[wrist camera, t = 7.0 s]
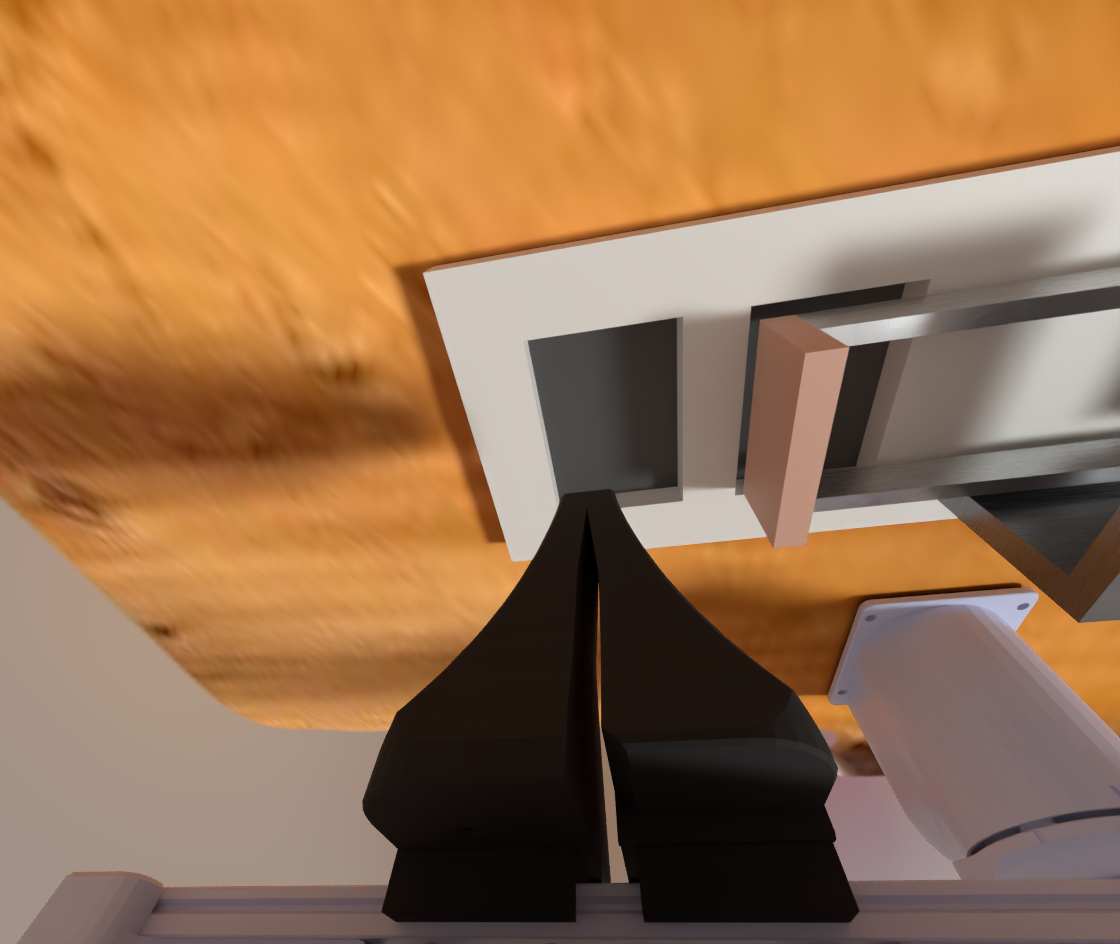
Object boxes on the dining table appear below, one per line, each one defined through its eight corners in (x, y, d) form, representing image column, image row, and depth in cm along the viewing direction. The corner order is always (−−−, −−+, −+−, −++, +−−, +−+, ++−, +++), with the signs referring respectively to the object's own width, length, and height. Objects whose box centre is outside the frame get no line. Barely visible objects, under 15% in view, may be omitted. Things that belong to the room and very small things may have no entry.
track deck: (514, 542, 20) (512, 561, 19) (433, 266, 14) (422, 272, 13) (1269, 465, 17) (1312, 483, 16) (1644, 53, 10) (1758, 40, 9)
